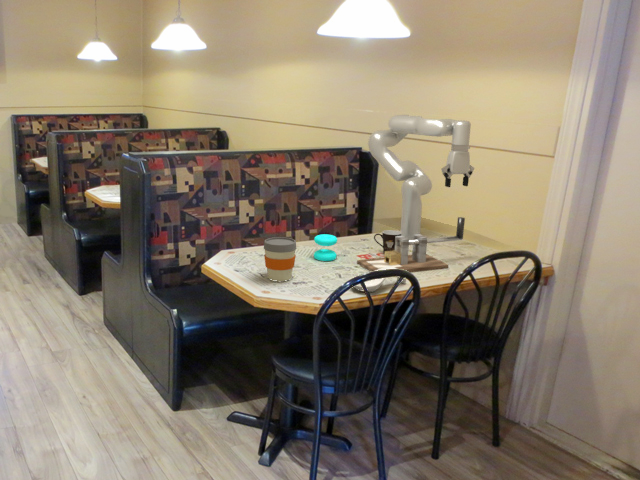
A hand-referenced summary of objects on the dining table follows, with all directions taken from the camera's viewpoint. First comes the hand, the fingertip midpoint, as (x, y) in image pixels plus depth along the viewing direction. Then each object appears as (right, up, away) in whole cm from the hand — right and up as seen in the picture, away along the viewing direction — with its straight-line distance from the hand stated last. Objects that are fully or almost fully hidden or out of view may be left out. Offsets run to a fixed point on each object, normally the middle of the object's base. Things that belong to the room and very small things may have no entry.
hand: (456, 186), depth 268 cm
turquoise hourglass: (-60, -33, -12) cm, 69 cm away
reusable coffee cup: (-78, -40, -39) cm, 96 cm away
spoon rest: (-40, -43, -45) cm, 74 cm away
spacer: (-32, -34, -21) cm, 51 cm away
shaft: (-14, -26, -15) cm, 33 cm away
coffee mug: (-31, -31, 0) cm, 44 cm away
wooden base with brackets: (-27, -35, -19) cm, 48 cm away
